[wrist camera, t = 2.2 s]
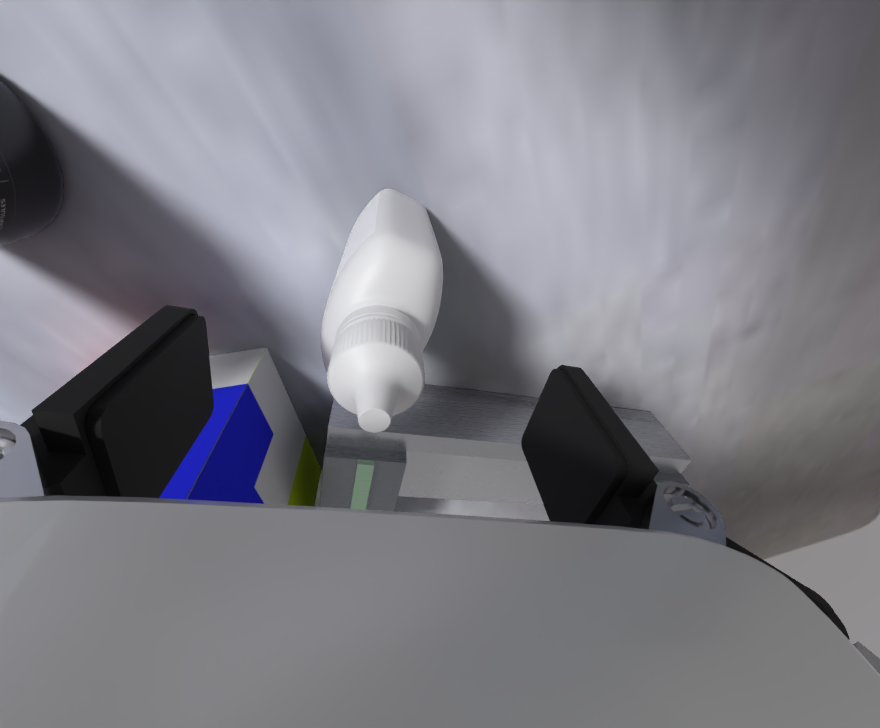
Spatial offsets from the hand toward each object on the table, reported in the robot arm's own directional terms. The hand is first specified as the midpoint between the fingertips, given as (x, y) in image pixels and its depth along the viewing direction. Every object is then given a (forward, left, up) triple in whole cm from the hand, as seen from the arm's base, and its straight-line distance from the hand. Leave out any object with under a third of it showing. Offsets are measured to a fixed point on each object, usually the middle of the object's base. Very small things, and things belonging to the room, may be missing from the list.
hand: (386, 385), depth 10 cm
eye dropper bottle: (-1, 0, -10) cm, 10 cm away
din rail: (+11, +9, -10) cm, 17 cm away
